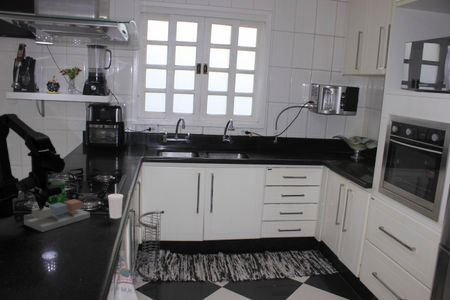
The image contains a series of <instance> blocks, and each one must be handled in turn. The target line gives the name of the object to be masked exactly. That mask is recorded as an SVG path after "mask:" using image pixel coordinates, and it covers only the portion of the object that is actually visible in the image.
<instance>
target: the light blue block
mask: <svg viewBox="0 0 450 300" xmlns="http://www.w3.org/2000/svg"><path fill="white" fill-rule="evenodd" d="M48 208H50V209H51V214H54V215H59V214H62V213H66V212H67V205H66V204H63V203H60V202H59V203H55V204H51V205H48Z"/></svg>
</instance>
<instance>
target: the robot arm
mask: <svg viewBox="0 0 450 300" xmlns="http://www.w3.org/2000/svg"><path fill="white" fill-rule="evenodd" d="M10 129H11V130H12V132H14V133H15V134H17V136H19V137H20V138H21V139H22V140H23V141H24V146H25V147H26V148H27V149H28V150H29V151H30V152H28V153H27V156H28V157H30V159H31V160H30V162H31V170H30V171H29V172H28V175H27V177H24V178H22V179H20V180H19V178H18V177H15V175H13V172H12V167H11V166H12V165H11V160H10V153H9V148H8V141H7V139H8V136H9V134H10V132H11V131H10ZM57 152H58V151H57V149H56V147H55V146H54V144H53V143H52V139H51V138H50V136H48V135H47V134H45V133H43V132H40V131H36V130H34V129H33V128H32V127H30V126H29V125H28V124H26V123H25V122H24V121H23V120H21V119H20V118H19V115H17V114H15V113H3V114H0V218H6V217H9V216H14V215H17V214H18V212H17V211H15V210H14V200H15V199H18V198H19V196H20V195H19V194H20V192H21V193H24V194H26V193H30V194H31V195H33V197H34V198H35V201H36V204H37V206H38V207H39V209H43V208H44V206H45V205H46V204H47V200H48V198H49V197H50V196H54V195H59V194H62V188H61V187H60V186H57V185H52V186H48V185H51V182H50V181H49V179H50V178H49V177H50V176H49V175H52V173H55V174H60V173H62V172H63V171H64V170H65V168H66V162H65V160H64V158H62V157H61V154H60V153H57ZM38 207H37V208H38ZM45 207H46V206H45Z"/></svg>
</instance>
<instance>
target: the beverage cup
mask: <svg viewBox="0 0 450 300" xmlns="http://www.w3.org/2000/svg"><path fill="white" fill-rule="evenodd" d="M123 198H124V195H123V194H121V193H117V183H115V184H114V193H112V194H109V195H107V199H108V206H109V207H108V208H109V209H108V210H109V217H110V219H120V218H122V212H123V200H124V199H123Z"/></svg>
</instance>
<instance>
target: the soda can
mask: <svg viewBox="0 0 450 300" xmlns="http://www.w3.org/2000/svg"><path fill="white" fill-rule="evenodd" d="M49 181H50V182H51V185H48V186H52V185H57V186H60V187H61V188H62V194H59V195H54V196H50V197H49V198H48V200H47V202H48V203H49V204H55V203H59V202H60V203H63V204H64V202H65V201H67V200H66V198H67V196H66V189H67V188H66V179H64V178H63V177H51V178H49ZM47 202H46V203H47Z"/></svg>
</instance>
